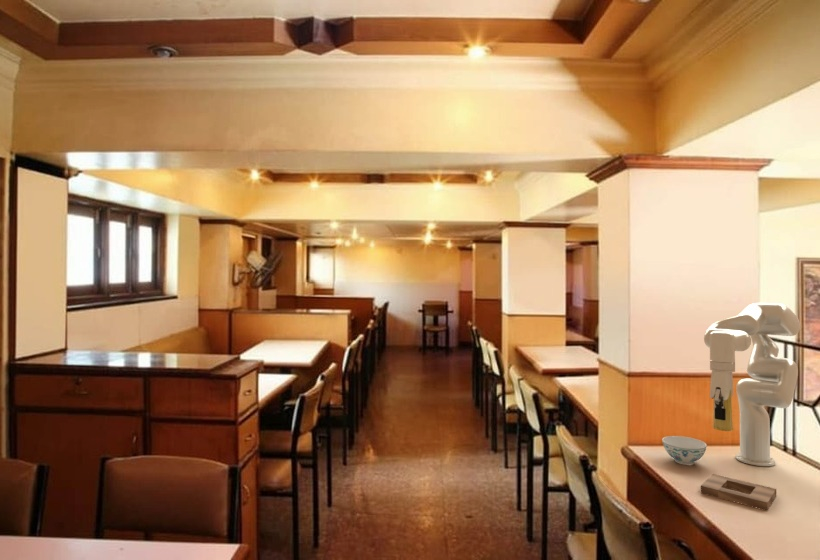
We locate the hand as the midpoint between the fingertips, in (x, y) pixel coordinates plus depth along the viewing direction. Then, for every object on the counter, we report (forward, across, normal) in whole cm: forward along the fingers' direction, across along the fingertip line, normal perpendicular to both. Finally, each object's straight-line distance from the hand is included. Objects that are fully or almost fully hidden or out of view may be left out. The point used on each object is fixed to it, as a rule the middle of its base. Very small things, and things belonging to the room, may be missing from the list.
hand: (722, 417), depth 173 cm
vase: (+4, 0, 0) cm, 4 cm away
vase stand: (+22, +11, +7) cm, 26 cm away
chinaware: (+22, -8, -15) cm, 28 cm away
